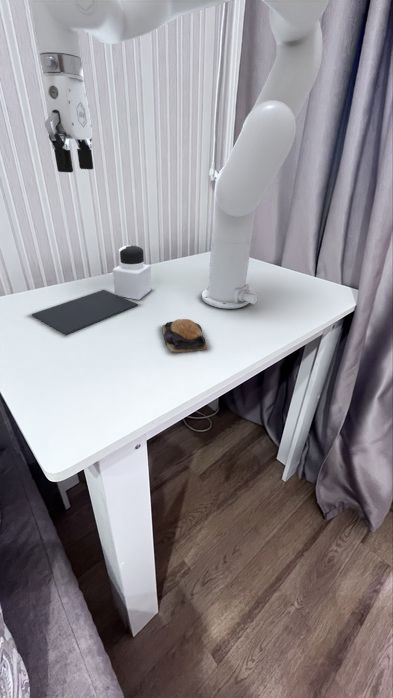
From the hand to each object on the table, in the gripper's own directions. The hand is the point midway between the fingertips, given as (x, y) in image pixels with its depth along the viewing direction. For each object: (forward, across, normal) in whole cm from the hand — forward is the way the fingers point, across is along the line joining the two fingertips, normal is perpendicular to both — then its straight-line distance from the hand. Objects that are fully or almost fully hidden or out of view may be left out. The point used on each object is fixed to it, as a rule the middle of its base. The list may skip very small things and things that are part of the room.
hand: (76, 170), depth 73 cm
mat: (+28, -12, -4) cm, 31 cm away
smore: (+29, -19, -28) cm, 44 cm away
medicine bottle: (+28, +1, -11) cm, 30 cm away
